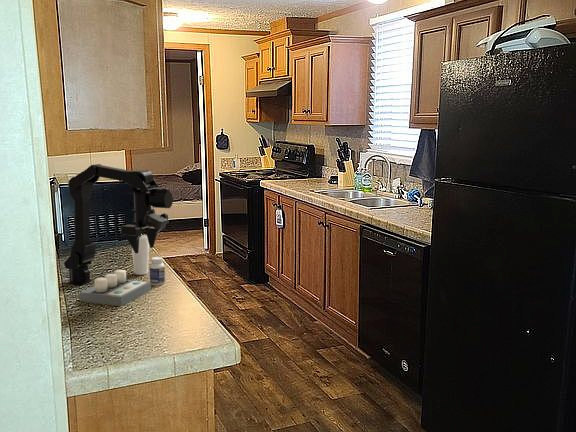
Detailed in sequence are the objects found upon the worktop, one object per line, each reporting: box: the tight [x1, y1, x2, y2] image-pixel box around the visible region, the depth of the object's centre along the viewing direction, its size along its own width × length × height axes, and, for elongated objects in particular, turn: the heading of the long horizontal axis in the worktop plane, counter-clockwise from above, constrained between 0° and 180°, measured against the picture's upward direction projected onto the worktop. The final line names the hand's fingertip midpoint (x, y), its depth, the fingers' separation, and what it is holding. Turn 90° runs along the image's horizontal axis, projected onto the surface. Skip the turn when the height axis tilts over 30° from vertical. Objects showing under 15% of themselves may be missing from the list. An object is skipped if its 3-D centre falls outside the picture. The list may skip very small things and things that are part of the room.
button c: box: [113, 269, 127, 283], centre depth 191 cm, size 4×4×4 cm
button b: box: [104, 273, 117, 288], centre depth 186 cm, size 4×4×4 cm
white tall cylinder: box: [131, 234, 150, 276], centre depth 212 cm, size 7×7×15 cm
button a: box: [94, 277, 108, 292], centre depth 181 cm, size 4×4×4 cm
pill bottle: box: [149, 256, 166, 286], centre depth 200 cm, size 5×5×10 cm
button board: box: [79, 279, 152, 307], centre depth 186 cm, size 16×18×3 cm
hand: (144, 250), depth 190 cm, fingers open, 9 cm apart
